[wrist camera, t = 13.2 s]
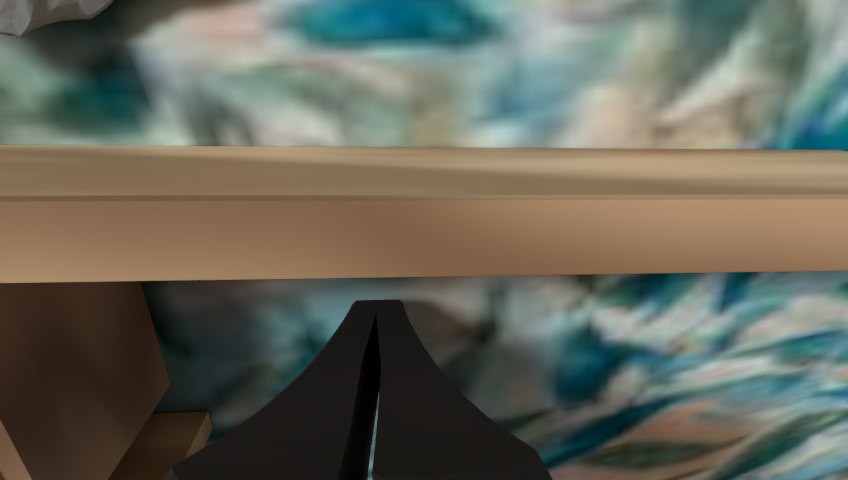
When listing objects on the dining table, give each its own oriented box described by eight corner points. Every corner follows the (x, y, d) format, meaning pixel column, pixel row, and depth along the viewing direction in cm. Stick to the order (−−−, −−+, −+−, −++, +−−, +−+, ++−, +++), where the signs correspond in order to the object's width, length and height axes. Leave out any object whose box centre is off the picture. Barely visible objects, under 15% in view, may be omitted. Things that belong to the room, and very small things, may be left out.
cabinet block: (171, 382, 14) (60, 550, 9) (43, 387, 14) (-138, 561, 9) (122, 212, 12) (-62, 322, 7) (-36, 213, 11) (-340, 328, 7)
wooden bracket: (731, 408, 16) (839, 524, 12) (-50, 438, 14) (-219, 587, 10) (839, 149, 12) (1054, 198, 8) (-228, 144, 10) (-615, 203, 6)
